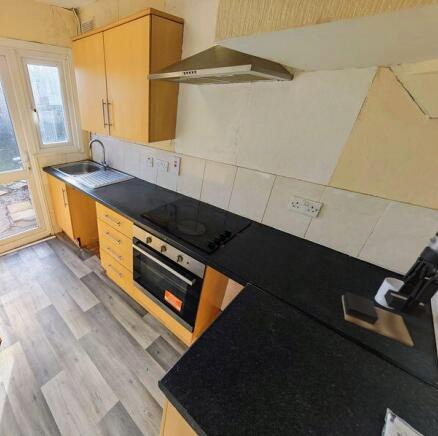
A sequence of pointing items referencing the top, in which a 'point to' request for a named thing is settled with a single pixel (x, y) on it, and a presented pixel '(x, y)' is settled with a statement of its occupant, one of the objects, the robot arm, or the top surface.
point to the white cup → (386, 285)
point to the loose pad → (397, 300)
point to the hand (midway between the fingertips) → (401, 305)
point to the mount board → (385, 325)
